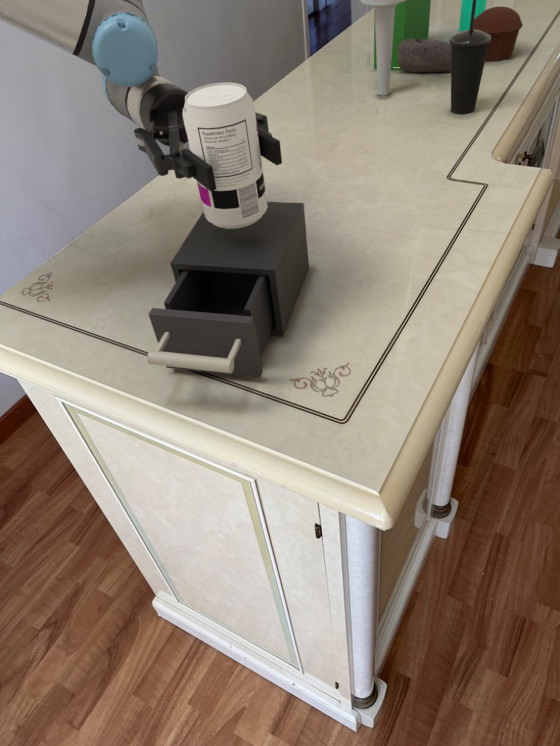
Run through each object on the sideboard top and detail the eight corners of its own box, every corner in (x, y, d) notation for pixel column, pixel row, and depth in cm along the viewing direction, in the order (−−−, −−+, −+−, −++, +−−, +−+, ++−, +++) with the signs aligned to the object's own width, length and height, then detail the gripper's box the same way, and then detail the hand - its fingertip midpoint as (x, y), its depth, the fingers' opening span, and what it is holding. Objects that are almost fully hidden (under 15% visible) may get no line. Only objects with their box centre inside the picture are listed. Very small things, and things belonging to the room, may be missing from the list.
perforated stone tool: (463, 68, 139) (467, 35, 134) (460, 76, 136) (463, 43, 131) (400, 67, 144) (401, 35, 139) (395, 75, 141) (396, 43, 136)
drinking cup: (436, 109, 124) (444, 1, 110) (465, 99, 126) (477, -9, 112) (459, 120, 119) (472, 8, 105) (489, 110, 121) (505, -2, 107)
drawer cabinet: (283, 336, 78) (274, 269, 71) (188, 327, 82) (169, 263, 74) (309, 267, 89) (303, 202, 81) (223, 262, 92) (210, 199, 85)
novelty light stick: (356, 102, 132) (355, -31, 114) (366, 85, 138) (366, -43, 120) (401, 102, 129) (406, -33, 111) (409, 85, 135) (415, -45, 118)
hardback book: (400, 44, 156) (404, -67, 139) (427, 46, 153) (435, -68, 136) (373, 68, 145) (374, -49, 129) (402, 70, 142) (407, -50, 125)
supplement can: (192, 223, 76) (164, 103, 65) (231, 193, 80) (210, 77, 69) (243, 237, 72) (221, 113, 61) (280, 205, 76) (266, 84, 66)
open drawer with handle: (248, 408, 69) (236, 353, 62) (151, 396, 72) (130, 342, 66) (288, 304, 82) (282, 249, 75) (204, 297, 85) (191, 244, 79)
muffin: (508, 45, 147) (516, -1, 140) (524, 59, 139) (533, 11, 132) (461, 51, 147) (466, 6, 140) (474, 66, 139) (480, 18, 132)
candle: (472, 44, 150) (479, -10, 142) (453, 40, 153) (458, -13, 145) (486, 37, 153) (493, -17, 144) (466, 34, 156) (472, -19, 147)
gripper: (234, 115, 88) (322, 166, 73) (102, 162, 81) (170, 228, 66) (225, 61, 82) (318, 105, 68) (83, 106, 76) (153, 165, 61)
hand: (245, 165), depth 67 cm, fingers closed on supplement can, 8 cm apart
